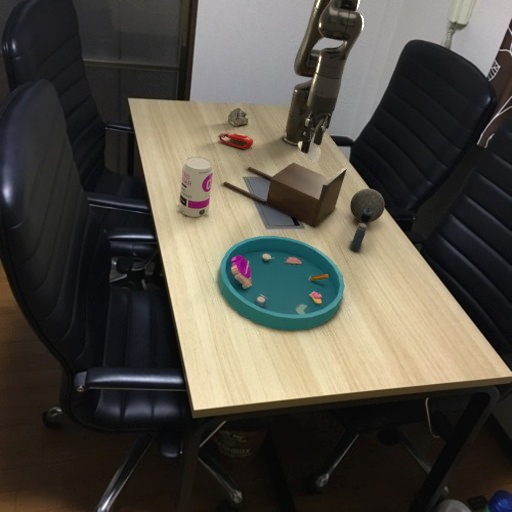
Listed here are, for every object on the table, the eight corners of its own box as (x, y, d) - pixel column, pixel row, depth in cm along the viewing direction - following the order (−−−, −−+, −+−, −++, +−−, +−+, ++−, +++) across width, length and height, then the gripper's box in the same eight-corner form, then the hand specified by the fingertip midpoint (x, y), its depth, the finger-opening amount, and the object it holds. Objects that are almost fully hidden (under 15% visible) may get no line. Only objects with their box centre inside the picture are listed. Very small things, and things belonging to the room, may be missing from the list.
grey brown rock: (227, 121, 194) (229, 104, 190) (246, 122, 197) (249, 105, 193) (229, 126, 191) (232, 109, 187) (249, 127, 194) (252, 109, 190)
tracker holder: (242, 132, 186) (260, 137, 180) (240, 144, 188) (257, 150, 181) (216, 129, 178) (233, 135, 171) (214, 142, 180) (231, 148, 173)
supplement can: (213, 208, 146) (219, 162, 137) (198, 221, 140) (204, 173, 130) (188, 198, 148) (193, 152, 139) (173, 211, 142) (176, 163, 132)
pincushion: (292, 143, 148) (296, 125, 145) (312, 144, 150) (316, 126, 146) (303, 163, 139) (308, 144, 136) (324, 164, 141) (329, 146, 137)
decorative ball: (349, 206, 159) (358, 178, 153) (380, 216, 157) (391, 188, 151) (343, 222, 151) (352, 193, 145) (375, 232, 150) (386, 204, 144)
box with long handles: (249, 169, 168) (256, 129, 159) (335, 208, 157) (347, 168, 149) (223, 185, 157) (229, 144, 148) (313, 228, 146) (325, 186, 138)
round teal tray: (219, 242, 134) (221, 224, 130) (329, 253, 138) (334, 235, 134) (218, 325, 110) (221, 306, 107) (351, 335, 114) (358, 316, 111)
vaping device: (361, 243, 144) (374, 207, 137) (358, 253, 140) (371, 217, 133) (352, 240, 144) (364, 205, 137) (349, 250, 140) (361, 214, 133)
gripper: (325, 102, 127) (310, 161, 137) (348, 89, 137) (333, 145, 147) (299, 92, 129) (286, 150, 139) (323, 81, 140) (310, 136, 150)
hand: (310, 148), depth 143 cm, fingers closed on pincushion, 7 cm apart
